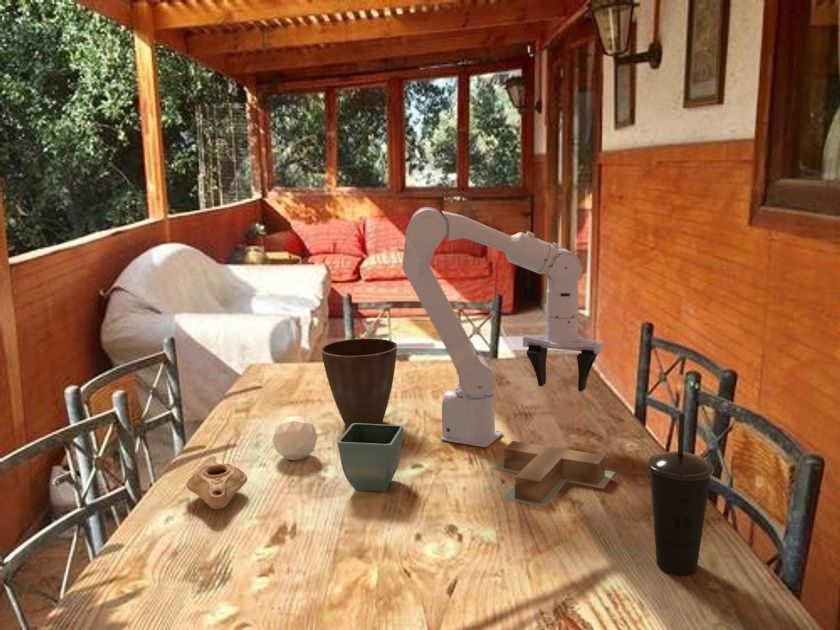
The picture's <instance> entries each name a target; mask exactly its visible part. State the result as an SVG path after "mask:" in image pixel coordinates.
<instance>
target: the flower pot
mask: <svg viewBox="0 0 840 630" xmlns="http://www.w3.org/2000/svg"><path fill="white" fill-rule="evenodd" d="M403 435H404V425H402V424H401V425H398V424H383V423H382V424H364V423H353V424H352V425H351V426H350V427H349V428H348V427H347V430H346V431H345V432H344V433H343V434H342V435H341V437H340V438H339V439H338V440H337V447H338V452H339V456H340V457H339V458H340V463H341V469H342V471H343V473H344V476H345V478H346V480H347V481H348V483H349V485H350V486H351V487H352V488H353V489H354V490H356V491H366V492H367V491H369V492H381V493H382V492H385V491H387V489H388V487H389V485H390V483H391V482H392V481H393V478H394V476H395V474H396V472H397V470H398V467H399V464H400V460H401V458H402V457H401V456H402V449H403V439H404V438H403Z"/></svg>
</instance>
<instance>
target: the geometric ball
mask: <svg viewBox="0 0 840 630" xmlns="http://www.w3.org/2000/svg"><path fill="white" fill-rule="evenodd" d="M318 438H319V437H318V434H317V431H316V429H315V426H314V423H311V422H310V421H309V420H308V419H306V418H304V417H303V416H286V417H285V418H284V419H283V420H281V421H280V422H279V423H278V424H276V425H275V428H274V432H273V435H272V443H273V447H274V449H275V451H276V452H277V453H278V454H279V455H280V456H282V458H285V459H287V460H288V459H290V460H289V461H300V460H303V458H304V459H305V458H307V457H308V456H309V455H310V454H312V452H315V447H316V443H317V441H318ZM299 459H300V460H299Z"/></svg>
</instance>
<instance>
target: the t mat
mask: <svg viewBox="0 0 840 630" xmlns="http://www.w3.org/2000/svg"><path fill="white" fill-rule="evenodd" d="M492 469H495V470H499V471H505V472H510V473H516V474H518V473H519V472H520V471H517V470H511V469H506V468H504V457H503V458H502V459H501V460H499V461H498V462H497V463H496V464H495V465H493V466H492ZM615 474H616V471H613V470H606V469H605V476H604V477H603V479H602V480H601V481H600V483H599V484H598V485H595V484H589V483H584V482H578V481H572V480H567V479H560V481H559V482H558V483H557V484H556V485H555V486H554V487H553V489H552V490H551V491H550V492H549V493H548V494H547V495H546V497H545V498H544V499H543V500H542V501H541V502H540V503H536V502H531V501H526V500H521V499H516V498H515V484H514V485H513V486H512V487H511V488H510V489H509V490H508V491H507V492H506V493H505V494H504V495H503V496H502V497H501V499H503V500H509V501H512V502H513V501H514V502H518V503H523V504H527V505H532V506H537V507H541V508H542V507H543V508H546V507H547V505H549V503H550V502H551V500H553V499H554V498H555V496H556V495H557V494H558V493H559V492H560V490H562V488H563V487H564V486H565V485H566V484H567V483H570V484H571V483H572V484H576V485H582V486H587V487H592V488H596V489H597V488H598V489H603V490H604V489H605V487H607V485H608V483H609V482H610V481H611V479H612V478H613V476H615Z"/></svg>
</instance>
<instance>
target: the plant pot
mask: <svg viewBox="0 0 840 630" xmlns="http://www.w3.org/2000/svg"><path fill="white" fill-rule="evenodd" d="M320 352H321V357H322V361H323V365H324V366H323V367H324V371H325V374H326V378H327V381H328V384H329V388H330V391H331V394H332V397H333V399H334V403H335V405H336V408H337V410H338V412H339V415H340V417H341V419H342V422H343V423H344V425H345V427H346V428H347V429H348V428H349V427H350V426H351V425H352V424H353V423H364V424H382V425H383V421H384V418H385V415H386V411H387V408H388V404H389V402H390V401H389V400H390V398H391V397H390V396H391V393H392V388H393V383H394V377H395V370H396V363H397V362H396V361H397V352H398V343H396V342H394V341H392V340H390V339H389V340H388V339H385V338H371V337H370V338H352V339H344V340H338V341H333V342H331V343H328V344H327V343H326V344H325V345H323V346H322V347H321V349H320Z"/></svg>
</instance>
